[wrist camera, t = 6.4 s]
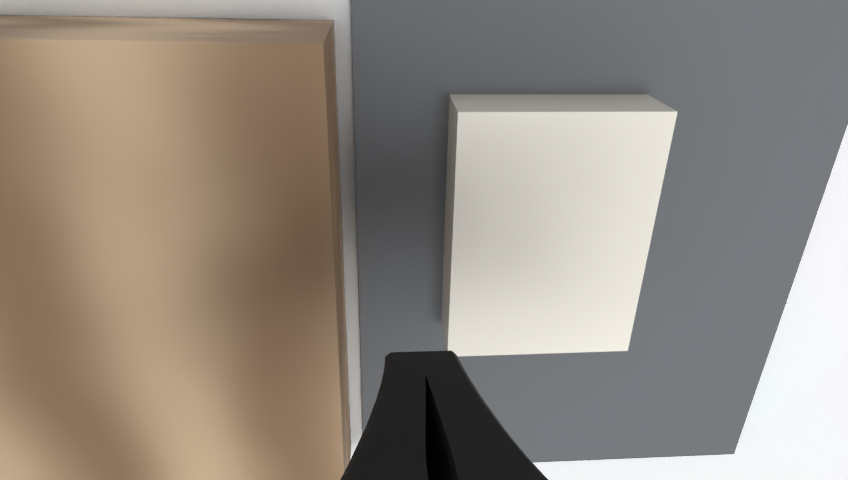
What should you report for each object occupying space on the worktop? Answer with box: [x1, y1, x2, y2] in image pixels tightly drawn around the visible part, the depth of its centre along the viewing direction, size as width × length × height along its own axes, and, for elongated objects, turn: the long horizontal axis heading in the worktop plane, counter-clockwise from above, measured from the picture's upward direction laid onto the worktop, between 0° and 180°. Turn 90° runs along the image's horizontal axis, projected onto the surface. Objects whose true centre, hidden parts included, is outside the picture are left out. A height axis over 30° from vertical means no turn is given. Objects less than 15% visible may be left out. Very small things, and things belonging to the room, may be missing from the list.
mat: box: [351, 0, 848, 462], centre depth 21 cm, size 16×20×1 cm
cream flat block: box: [441, 94, 677, 357], centre depth 19 cm, size 6×8×2 cm
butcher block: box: [0, 15, 351, 480], centre depth 18 cm, size 16×16×4 cm
